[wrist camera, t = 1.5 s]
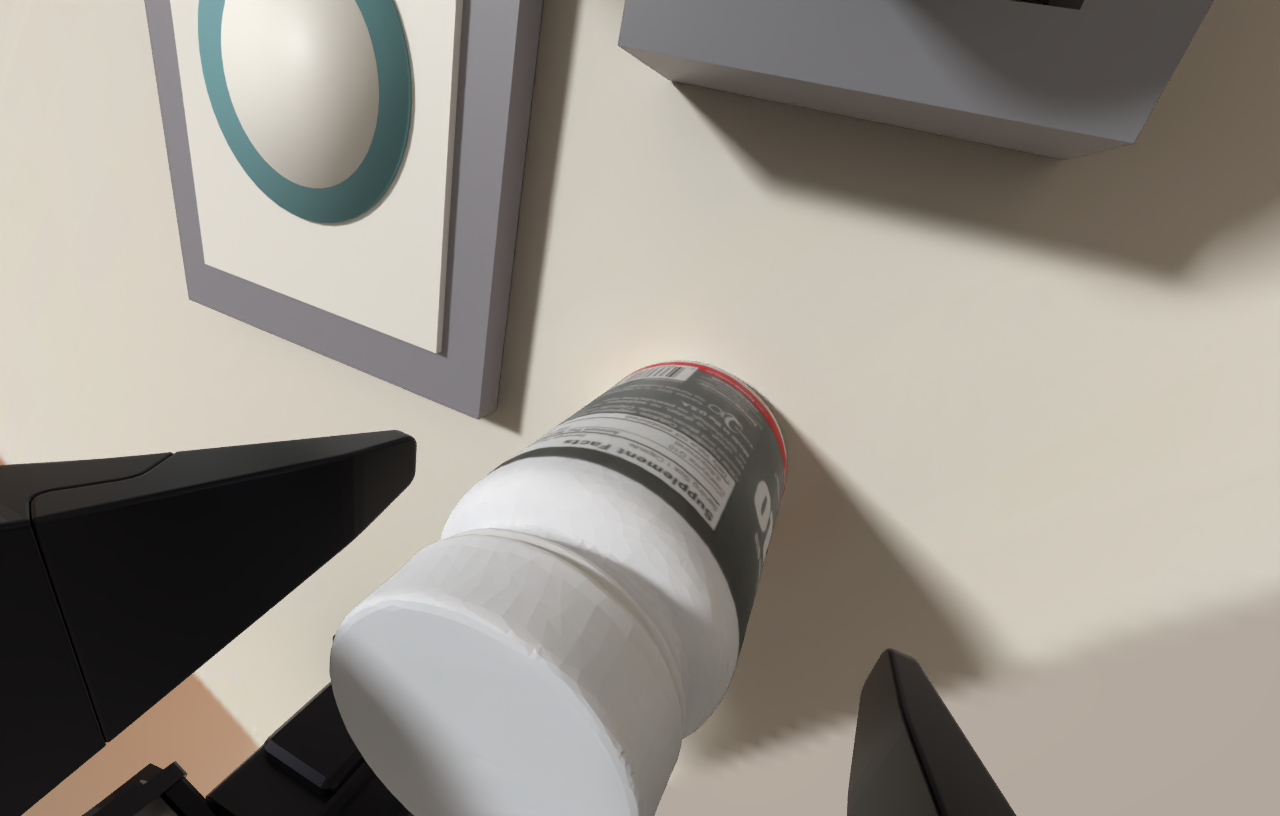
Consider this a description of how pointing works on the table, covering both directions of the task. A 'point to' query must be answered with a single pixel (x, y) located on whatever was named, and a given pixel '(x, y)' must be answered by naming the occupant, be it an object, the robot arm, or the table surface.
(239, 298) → the grey flat plate
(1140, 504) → the table surface
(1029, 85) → the button housing
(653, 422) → the pill bottle
